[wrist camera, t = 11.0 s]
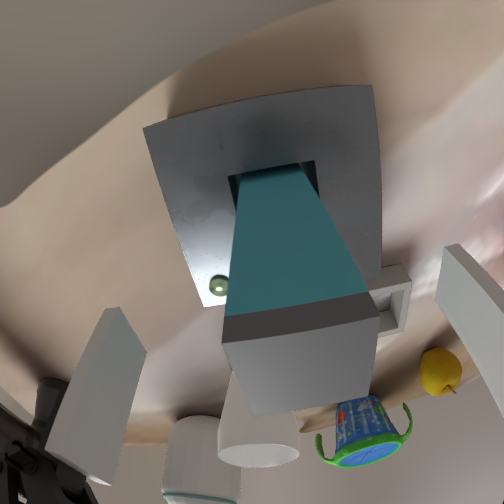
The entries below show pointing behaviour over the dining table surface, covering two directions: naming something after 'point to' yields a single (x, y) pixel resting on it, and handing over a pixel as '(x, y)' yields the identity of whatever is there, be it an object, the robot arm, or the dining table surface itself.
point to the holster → (392, 297)
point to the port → (265, 156)
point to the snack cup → (363, 433)
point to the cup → (255, 433)
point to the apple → (439, 371)
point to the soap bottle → (198, 465)
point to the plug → (294, 299)
